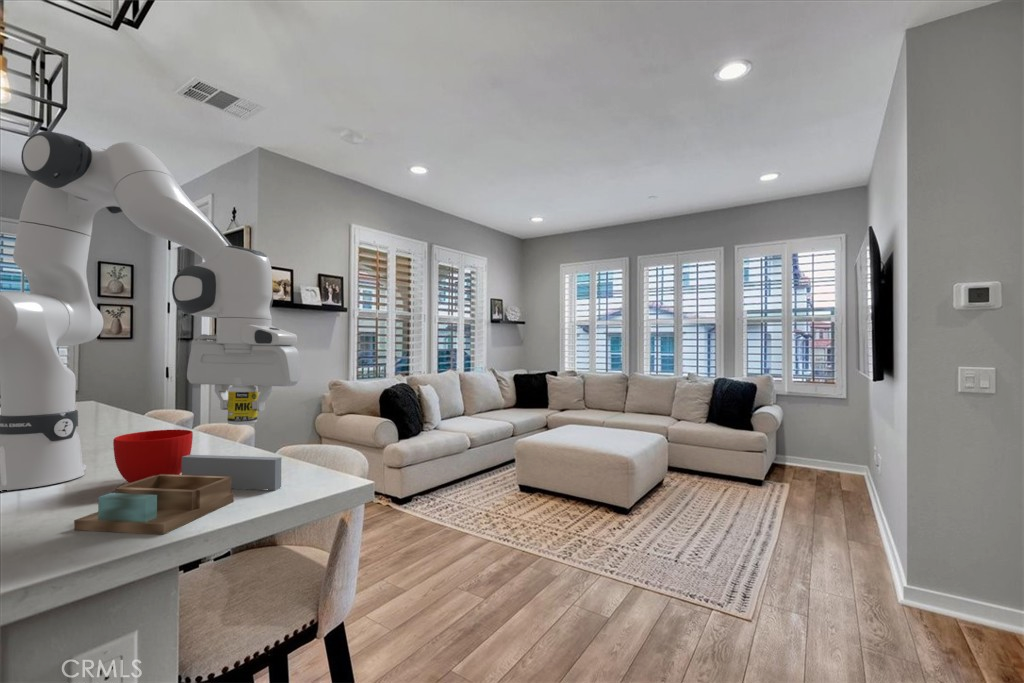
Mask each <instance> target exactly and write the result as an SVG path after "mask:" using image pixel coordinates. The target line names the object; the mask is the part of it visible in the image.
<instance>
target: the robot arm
mask: <svg viewBox="0 0 1024 683" xmlns="http://www.w3.org/2000/svg"><path fill="white" fill-rule="evenodd" d="M21 163H22V166H23V168H24V171H25V172H26V174H27V175H28V176H29V177H30V178H32V179H33V180H34V181H32V183H31V185H30V187H29V188H28V191H27V193H26V195H25V198H24V201H23V204H22V206H21V209H20V214H19V219H18V225H17V230H16V235H15V236H16V237H15V242H14V247H13V253H12V258H13V261H14V263H15V265H16V266H17V267H18V268H19V269H20V270H21V271H22V272H23V273H24V275H25V277H26V279H27V282H28V287H29V292H27V291H25V292H24V291H18V290H4V291H3V290H2V291H0V491H1V492H3V491H2V490H7V491H12V490H13V491H14V490H23V489H29V488H30V489H31V488H37V487H43V486H49V485H54V484H59V483H64V482H68V481H71V480H75V479H78V478H80V477H83V476H84V475H85V473H86V472H85V470H87V464H85V463H83V456H82V455H83V454H82V446H81V439H80V435H79V433H78V432H77V427H78V426H79V419H80V417H79V411H78V410H77V409H76V394H77V393H76V390H77V388H76V387H77V386H76V385H77V384H76V380H77V378H76V374H75V373H74V372H73V371H72V370H71V369H70V368H69V367H68V366H66V365H65V363H64V362H63V361H62V359H61V357H60V354H59V352H58V347H72V346H77V345H82V344H85V343H88V342H89V343H90V342H91V341H93V340H95V339H96V338H97V337H99V335H100V334H101V333H102V330H103V327H104V317H103V315H102V313H101V311H100V310H99V309H98V308H97V307H96V305H95V304H94V302H93V300H92V297H91V294H90V289H89V284H88V277H87V267H88V259H89V253H90V252H89V251H90V245H91V239H92V233H93V223H94V218H95V216H96V213H98V211H100V210H102V209H103V208H104V209H105V208H106V209H107V211H108V212H110V213H111V214H112V215H113V214H119V213H123V214H124V215H125V216H126V217H127V218H128V220H130V222H132V223H133V225H135V226H136V227H137V228H139V229H140V230H142V231H144V232H146V233H148V234H150V235H154V236H156V237H159V238H161V239H164V240H167V241H170V242H172V243H174V244H178V245H179V246H182V247H184V248H186V249H188V250H190V251H192V252H194V253H196V254H197V255H198V256H199V257H200V258H202V259H203V262H200V263H197V264H190V265H187V266H185V267H183V268H182V269H181V270H179V271H178V272H177V273H176V275H175V277H173V282H172V286H171V295H172V298H173V302H174V303H175V305H176V307H177V308H178V309H179V310H180V311H181V312H183V313H184V314H188V315H191V316H195V317H202V318H203V317H204V318H212V319H214V318H215V319H216V329H215V330H216V333H215V334H205V333H203V334H199V335H198V336H196V337H195V338H194V339H193V340H192V341H191V343H190V344H191V345H190V347H191V348H190V349H191V350H190V353H189V356H188V357H189V358H188V362H187V369H186V370H187V371H186V380H188V381H189V382H188V383H190V384H191V385H211V386H213V385H214V393H215V394H216V396H217V398H218V399H219V401H220V408H219V409H220V410H222V411H228V391H229V389H230V388H231V386H233V385H232V383H233V378H241V382H242V385H247V386H255V387H257V388H258V398H257V400H256V401H252V410H253V411H258V412H262V411H265V410H266V401H267V399H268V398H269V397H270V396H271V393H272V392H273V387H292V386H294V387H295V386H297V384H298V382H299V381H300V379H301V362H300V361H301V359H300V352H299V350H298V348H296V347H295V345H297V343H298V336H297V334H295V333H293V332H290V331H287V330H285V329H281V328H279V327H276V326H273V324H272V321H273V317H272V314H271V308H272V306H273V303H274V302H273V301H274V293H273V270H272V265H271V262H270V261H271V260H270V259H269V256H268V255H267V254H265V253H264V252H262V251H259V250H255V249H252V248H246V247H243V246H238V245H233V244H232V243H231V242H230V241H229V239H228V238H227V237H226V235H224V234H223V232H222V231H221V230H220V228H218V227H217V225H215V224H214V223H213V221H211V220H210V218H208V217H207V216H206V215H205V213H203V212H202V211H201V210H200V209H199V208H198V206H196V204H195V203H194V202H193V201H192V200H191V199H190V198H189V196H188V195H187V193H185V192H184V190H183V188H181V186H180V184H179V183H178V182H177V179H176V178H175V176H173V174H172V173H171V171H170V170H169V169H168V168H167V166H166V165H165V164H164V163H163V162H162V161H161V159H160V158H158V156H157V155H155V154H154V153H153V152H152V151H151V149H149V148H147V147H146V146H144V145H141V144H140V143H136V142H131V141H130V142H129V141H123V142H117V143H114V144H111V145H110V146H109V147H107V148H106V149H105V148H102V147H101V148H100V147H98V146H96V145H93V144H89V143H87V142H85V141H83V140H79V139H77V138H75V137H73V136H72V135H71V136H70V135H67V134H64V133H59V132H56V131H47V130H43V131H39V132H36V133H34V134H32V135H31V136H30V137H28V138H27V140H26V141H25V142H24V145H23V146H22V150H21Z"/></svg>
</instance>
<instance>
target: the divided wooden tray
mask: <svg viewBox="0 0 1024 683" xmlns="http://www.w3.org/2000/svg"><path fill="white" fill-rule="evenodd" d="M234 496H235V494H234V492H233V493H232V489H231V477H225V476H197V475H181V474H180V475H169V474H160V475H157V476H151V477H148V478H145V479H141V480H138V481H135V482H132V483H129V482H128V483H126V484H123V485H120V486H117V487H116V488H114V492H109V493H107V494H104V495H100V496H98V498H97V500H98V502H97V504H98V506H97V509H98V511H97V512H94V513H90V514H88V515H86V516H82V517H79V518H76V519H74V521H73V524H74V527H73V528H74V529H73V530H74V531H89V532H90V531H92V532H106V533H107V532H110V533H112V532H113V533H124V534H125V533H131V534H144V535H145V534H148V535H166V534H167V533H169V532H171V531H174V530H176V529H178V528H180V527H182V526H185V525H187V524H189V523H191V522H194V521H195V520H197V519H200V518H201V517H204V516H206V515H208V514H210V513H213V512H214V511H217V510H218V509H222V508H223V507H225V506H227V505H230V504H231V503H234Z"/></svg>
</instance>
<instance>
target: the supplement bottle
mask: <svg viewBox="0 0 1024 683" xmlns="http://www.w3.org/2000/svg"><path fill="white" fill-rule="evenodd" d="M231 386H232V387H231ZM231 386H230V389H229V390H227V392H228V410H227V424H228V425H233V426H234V425H235V426H241V425H242V426H243V425H251V424H255V423H257V422H258V412H259V411H253V410H252V401H256V400H257V398H258V396H259V392H258V386H247V385H242V382H241V378H233V383H232V385H231Z"/></svg>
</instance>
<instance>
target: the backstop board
mask: <svg viewBox="0 0 1024 683" xmlns="http://www.w3.org/2000/svg"><path fill="white" fill-rule="evenodd" d="M180 475H197V476H225V477H231V488H234V489H233V490H246V489H268V490H267V491H272V490H275V491H277V490H279V489H281V488H282V457H280V456H279V457H277V456H276V457H275V456H245V455H244V456H243V455H242V456H241V455H237V456H236V455H213V454H212V455H211V454H210V455H209V454H190V455H187V456H183V457H182V472H181V474H180ZM280 487H281V488H280ZM278 488H279V489H278ZM276 489H277V490H276Z"/></svg>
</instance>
